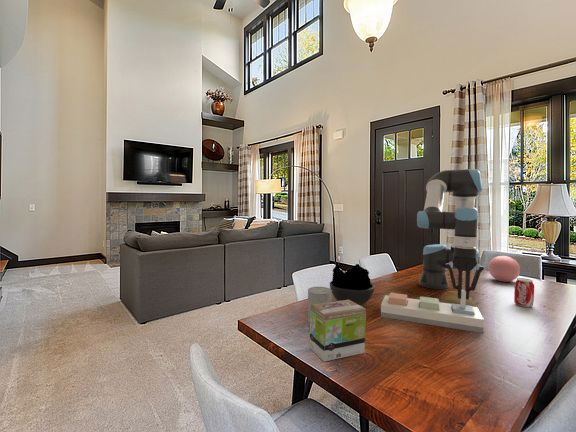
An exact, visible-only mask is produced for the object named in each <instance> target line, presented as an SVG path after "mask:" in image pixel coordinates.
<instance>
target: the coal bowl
mask: <svg viewBox="0 0 576 432" xmlns="http://www.w3.org/2000/svg"><path fill="white" fill-rule="evenodd" d="M351 267H352V268H350V269H348V270H347V271H343V270H342V269H341V267H340V264H339V263H336V265H335V267H333V269H332V280H331V281H330V282H329V289H331V290H332V293H331V295H332V296H333V297H334V299H335V300H336V301H342V300H351V301H352V302H354V303H356V304H358V305H360V306H363V305H365V304H366V303H368V302H369V301H370V300H371V298H372V296H373V295H374V291H375V286H376V285H375V284H374V283H373V282H371V280H372V279H371V278H370V277H369V275H370V272H369V270H368V269H366V268H364V267H362V266H361V265H360V264H359V263H357V264H356V263H355V265H354V266H351Z"/></svg>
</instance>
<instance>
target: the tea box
mask: <svg viewBox="0 0 576 432" xmlns="http://www.w3.org/2000/svg"><path fill="white" fill-rule="evenodd" d="M366 321H367V308H365V307H363V305H361V306H360V305H358V304H356V303H354V302H352V301H351V300H342V301H337V300H336V301H331V302H327V303H320V304H312V305H311V315H310V322H309V349H311V351H312V352H313V353H314V354H315V355H316V356H317V357H319V359H320V360H321V361H322V362H323V363H326V362H330V361H333V360H337V359H343V358H347V357H352V356H357V355H362V354H363V355H364V354H365V352H366V351H365V350H366V325H367V324H366V323H367V322H366Z"/></svg>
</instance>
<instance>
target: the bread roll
mask: <svg viewBox="0 0 576 432" xmlns="http://www.w3.org/2000/svg"><path fill="white" fill-rule="evenodd" d="M457 294H458V290H457V289H451V290H448V291H446V292H444V293H442V294H441V295H440V298H439V302H441V303H449V304H452V303H453V304H460V299H459V298H458V296H457ZM466 305H469V306H472V307H477V303H476V300H475V298H474V297H473V296H472V295H471V294H470V293H469V299H468V300H467V299H466Z"/></svg>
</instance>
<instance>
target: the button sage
mask: <svg viewBox="0 0 576 432" xmlns="http://www.w3.org/2000/svg"><path fill="white" fill-rule="evenodd" d="M419 300H420V308H424V309H432V310H439V302H440V299H439V298H436V297H429V296H419Z"/></svg>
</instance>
